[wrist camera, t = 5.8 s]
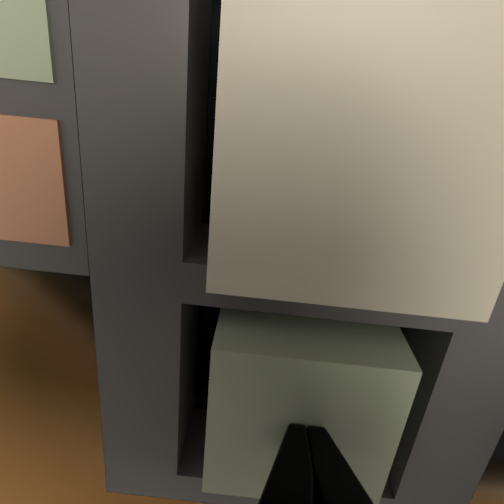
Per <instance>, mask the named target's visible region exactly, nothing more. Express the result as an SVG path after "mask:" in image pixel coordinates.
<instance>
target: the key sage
mask: <svg viewBox="0 0 504 504" xmlns="http://www.w3.org/2000/svg"><path fill="white" fill-rule="evenodd" d="M422 373H423V372H422V370H421V368H420V366H419V364H418V362H417V360H416V358H415V356H414V354H413V353H412V351H411V349H410V347H409V345H408V343H407V341H406V339H405V337H404V335H403V333H402V331H401V329H400V327H397V326H388V325H378V324H369V323H360V322H350V321H341V320H332V319H322V318H313V317H304V316H294V315H285V314H276V313H266V312H257V311H248V310H238V309H229V308H221V309H220V313H219V317H218V322H217V326H216V330H215V335H214V339H213V343H212V348H211V357H210V373H209V389H208V404H207V420H206V436H205V451H204V467H203V483H202V492H205V493H214V494H223V495H232V496H241V497H250V498H259V499H260V497H261V494H262V492H263V489H264V487H265V484H266V481H267V479H268V476H269V473H270V471H271V468H272V466H273V463H274V460H275V458H276V455H277V453H278V450H279V447H280V445H281V442H282V439H283V437H284V434H285V432H286V429H287V427H288V425H289V424H290V423H295V424H303V425H305V426H306V427H307V426H309V425H313V426H322V427H324V428H326V430H327V431H328V433H329V434H330V436H331V437H332V439H333V440H334V442H335V444H336V445H337V447H338V448H339V450H340V451H341V453H342V455H343V456H344V458H345V459H346V461H347V462H348V464H349V466H350V467H351V469H352V470H353V472H354V473H355V475H356V476H357V478H358V480H359V481H360V483H361V484H362V486H363V487H364V489H365V491H366V492H367V494H368V495H369V497H370V498H371V500H372V502H373V503H374V504H379V502H380V499H381V496H382V493H383V490H384V487H385V484H386V481H387V478H388V475H389V472H390V469H391V466H392V463H393V460H394V457H395V454H396V451H397V448H398V445H399V442H400V439H401V436H402V433H403V430H404V427H405V424H406V421H407V418H408V415H409V412H410V409H411V406H412V403H413V400H414V397H415V394H416V391H417V388H418V385H419V382H420V379H421V376H422Z"/></svg>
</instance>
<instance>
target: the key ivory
mask: <svg viewBox="0 0 504 504" xmlns="http://www.w3.org/2000/svg"><path fill="white" fill-rule="evenodd" d="M503 282H504V0H221V18H220V37H219V56H218V74H217V93H216V111H215V130H214V149H213V167H212V186H211V205H210V223H209V242H208V261H207V279H206V293H214V294H224V295H233V296H243V297H252V298H261V299H271V300H280V301H289V302H299V303H308V304H317V305H327V306H336V307H345V308H355V309H364V310H374V311H383V312H392V313H402V314H411V315H420V316H430V317H439V318H448V319H458V320H467V321H477V322H486V323H488V321H489V318H490V316H491V313H492V310H493V308H494V305H495V303H496V300H497V298H498V295H499V293H500V290H501V287H502V285H503Z"/></svg>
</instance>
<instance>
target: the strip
mask: <svg viewBox="0 0 504 504" xmlns="http://www.w3.org/2000/svg"><path fill="white" fill-rule="evenodd" d="M0 267H8V268H18V269H27V270H37V271H46V272H55V273H65V274H74V275H83V276H90V271H89V258H88V245H87V233H86V220H85V207H84V194H83V181H82V169H81V156H80V143H79V130H78V118H77V105H76V92H75V79H74V67H73V54H72V41H71V28H70V15H69V3H68V0H0Z"/></svg>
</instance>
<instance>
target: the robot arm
mask: <svg viewBox="0 0 504 504" xmlns="http://www.w3.org/2000/svg"><path fill="white" fill-rule="evenodd" d="M258 504H374V503H373V502H372V500H371V498H370V497H369V495H368V494H367V492H366V491H365V489H364V487H363V486H362V484H361V483H360V481H359V480H358V478H357V476H356V475H355V473H354V472H353V470H352V469H351V467H350V466H349V464H348V462H347V461H346V459H345V458H344V456H343V455H342V453H341V451H340V450H339V448H338V447H337V445H336V444H335V442H334V440H333V439H332V437H331V436H330V434H329V433H328V431H327V430H326V428H324V427H322V426H313V425H309V426H307V427H306V426H305V425H303V424H295V423H290V424H289V425H288V427H287V429H286V432H285V434H284V437H283V439H282V442H281V445H280V447H279V450H278V453H277V455H276V458H275V460H274V463H273V466H272V468H271V471H270V473H269V476H268V479H267V481H266V484H265V487H264V489H263V492H262V494H261V497H260V500H259V502H258Z"/></svg>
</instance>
